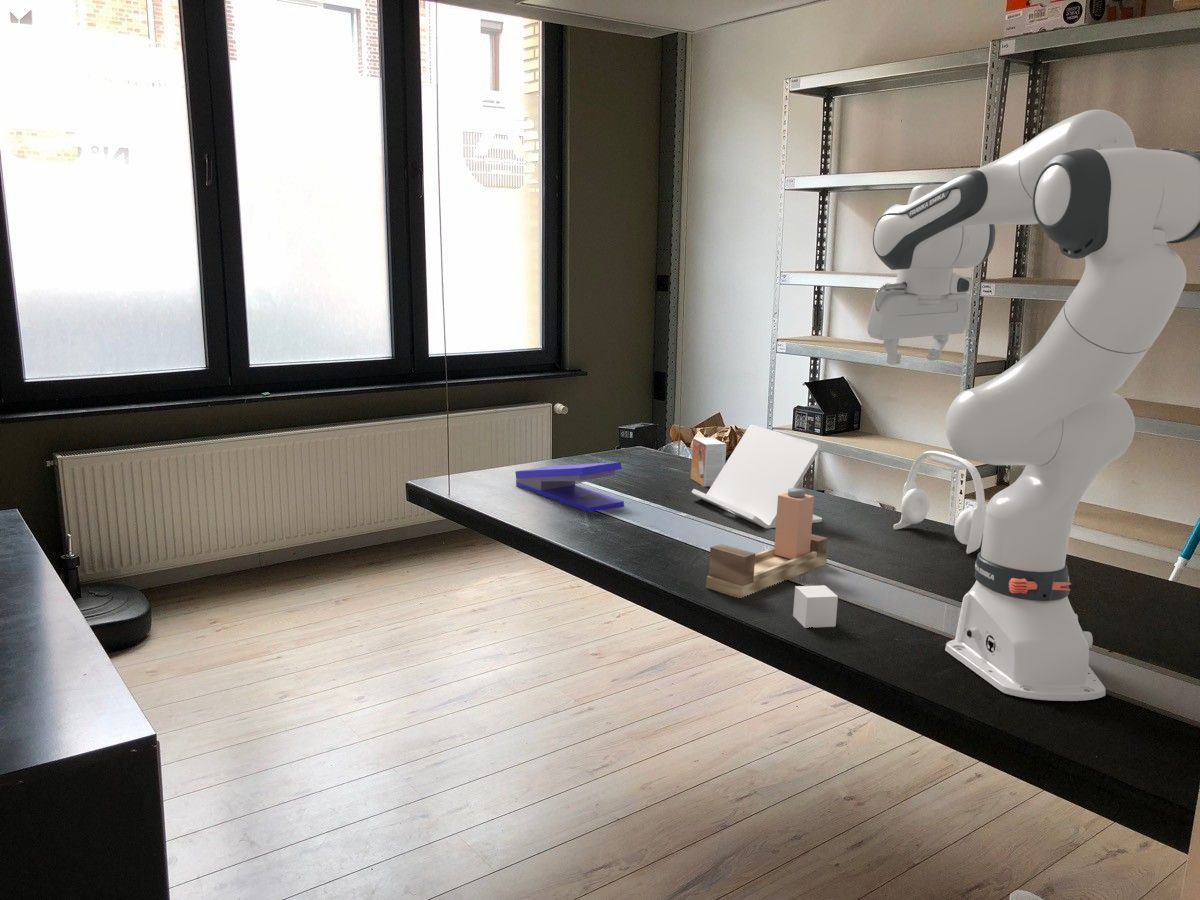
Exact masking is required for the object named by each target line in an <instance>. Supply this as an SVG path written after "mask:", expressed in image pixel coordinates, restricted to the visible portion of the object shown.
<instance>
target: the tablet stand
mask: <svg viewBox="0 0 1200 900" xmlns="http://www.w3.org/2000/svg"><path fill="white" fill-rule="evenodd" d="M821 450H822V448H821V446H820V445H819V444H818V443H815V442H812V441H809V440H804V439H802V438H801V439H800V438H797V437H795V436H791V435H788V434H785V433H783V432H779V431H775V430H772V429H768V428H765V427H761V426H759V425H755V424H750V425H749V426H748V427H747V429H746V430H745V432H744V433H743V435H742V437H741V438H740V440H739V442H737V445H736V446H735V448H734V450H733V451H732V453H731V454H730V456H729V457H728V459H727V460H726V461H725V465H724V467H723V469H722V470H721V472H720V473H719V475H718V476H717V478H716V480H715V481H714V483H713V484H712V486H710V487H709V490H708V491H707V492H706V493H704V492H702V491H700V490H698V489H695V488H693V489H692V490H691V493H692V494H693V495H695V496H696V497H698V499H700V500H702V501H705V502H706V503H709V504H712V505H713V506H715V507H718V508H720V509H723V510H724V511H726V512H729V513H731V514H734V515H735V516H737V517H739V518H742V519H744V520H746V521H748V522H751V523H753V524H756V525H757V526H760V527H762V528H763V529H773V528H775V529H776V517H777V503H778V495H781V494H784V493H788V489H790V488H798V486H799V485H800V483H801V482H802V481H803V478H804V477H805V475H806V474H807V472H808V470H809V469H810V467H811V465H812V464H813V462H814V461H815V459H816V458H817V456H818V454H819V453H820V451H821ZM821 522H823V518H822V517H820V516H819V515H816V514H813V518H812V524H815V523H821Z"/></svg>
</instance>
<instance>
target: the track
mask: <svg viewBox="0 0 1200 900" xmlns="http://www.w3.org/2000/svg"><path fill="white" fill-rule="evenodd" d="M827 547H828V538H827V537H824V536H822V535H821V536H820V535H817V534H812V533H811V544H810V553H807V554H805V555H802V556H799V557H797V558H794V559H789V558H786V557H782V556H779V555H775V554H774V547H771V548H768V549H764V550H763V551H760V552H758V553H757V552H752V551H749V550H746V549H745V550H744V549H741V548H738V547H734V546H731V545H727V544H723V543H719V544H716V545H712V546H711V547H710V548H709V562H708V563H709V565H708V567H709V568H708V575H707V576H706V580H705V581H706V583H705V588H706V589H709V590H712V591H714V592H718V593H721V594H724V595H726V596H727V595H728V596H730V597H733V596H734V597H733V598H736V597H737V599H739V598H741V599H743V598H745V597H744V596H746V597H747V595H748V596H750V594H751V595H753V594H755V592H756V593H758V592H760V591H762V589H763V590H765V589H767V587H768V588H769V586H770V587H772V585H773V586H775V585H778V584H780V583H782V581H783V582H785V581H787V579H788V580H791V579H792V578H794V577H797V576H800V575H802V574H805V573H808V572H810V571H812V570H815V569H817V568H820V567H822V566H825V565H827V563H828V553H827ZM784 580H785V581H784ZM779 582H780V583H779ZM777 583H778V584H777ZM774 584H775V585H774ZM759 590H760V591H759ZM757 591H758V592H757ZM752 593H753V594H752ZM742 597H743V598H742Z"/></svg>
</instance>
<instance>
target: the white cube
mask: <svg viewBox="0 0 1200 900" xmlns="http://www.w3.org/2000/svg"><path fill="white" fill-rule="evenodd" d="M838 601H839V596H838V595H837V594H836V593H834V591H832V590H831V589H830V588H829V587H828V586H826V585H825V584H822V585H802V586H801V585H798V586H796V585H795V586H794V598H793V609H792V610H793V612H792V616H793V618H795V620H796V621H798V623H800V625H801V626H803V628H805V629H807V628H809V627H810V628H811V627H813V628H835V627H836V625H837V613H838ZM810 628H809V629H810ZM811 629H812V628H811Z"/></svg>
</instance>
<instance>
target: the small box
mask: <svg viewBox="0 0 1200 900" xmlns="http://www.w3.org/2000/svg"><path fill="white" fill-rule="evenodd" d="M726 457H727V443H724V442H723V441H720V440H718V439H716V438H715V437H693V439H692V452H691V467H690V469H691V470H690V479H691V480H693V481H694V482H696V483H697V484H699V485H700V486H701V487H703V488H704V487H711V486H712V484H713V483H714V481H715V480H716V478H717V476H718V475H719V473H720V472H721V470H722V469H723V467H724V465H725V464H726V462H727V460H726Z"/></svg>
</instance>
